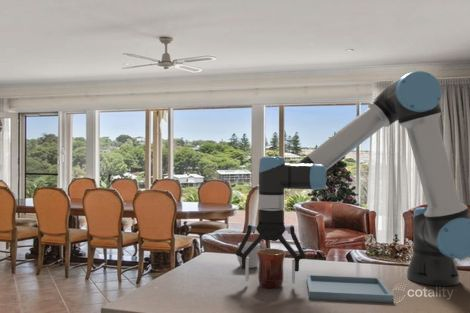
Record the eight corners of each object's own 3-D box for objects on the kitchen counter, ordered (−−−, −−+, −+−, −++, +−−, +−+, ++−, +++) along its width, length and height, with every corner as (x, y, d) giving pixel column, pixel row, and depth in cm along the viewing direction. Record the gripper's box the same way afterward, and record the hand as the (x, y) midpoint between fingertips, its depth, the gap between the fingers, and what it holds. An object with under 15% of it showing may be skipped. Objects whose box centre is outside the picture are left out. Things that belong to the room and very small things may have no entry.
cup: (248, 272, 147) (249, 248, 147) (228, 268, 151) (228, 245, 151) (264, 266, 156) (264, 243, 156) (244, 262, 160) (245, 240, 161)
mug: (258, 281, 137) (258, 247, 137) (286, 283, 135) (287, 249, 135) (252, 292, 125) (252, 256, 125) (283, 294, 123) (283, 257, 123)
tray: (379, 284, 135) (379, 277, 135) (393, 303, 117) (393, 295, 117) (306, 280, 138) (306, 274, 138) (309, 298, 120) (309, 291, 120)
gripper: (313, 208, 132) (312, 279, 132) (230, 206, 135) (229, 275, 135) (314, 211, 125) (313, 286, 125) (227, 209, 128) (226, 282, 128)
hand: (270, 281), depth 130 cm, fingers open, 13 cm apart
